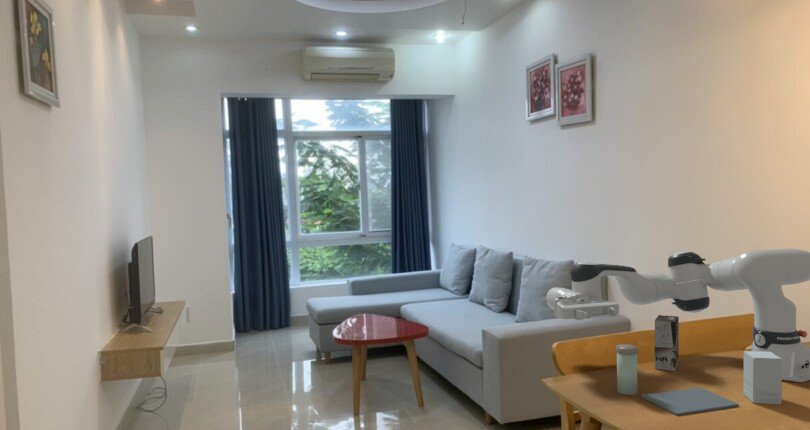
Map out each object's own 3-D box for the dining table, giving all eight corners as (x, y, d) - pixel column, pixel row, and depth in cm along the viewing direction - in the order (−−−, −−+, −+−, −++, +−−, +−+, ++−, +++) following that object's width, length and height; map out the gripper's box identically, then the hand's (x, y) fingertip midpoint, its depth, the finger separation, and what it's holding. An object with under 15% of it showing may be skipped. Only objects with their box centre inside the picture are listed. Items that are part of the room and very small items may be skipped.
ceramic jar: (629, 387, 175) (629, 343, 174) (642, 394, 169) (642, 348, 169) (611, 389, 173) (611, 345, 173) (624, 396, 168) (624, 350, 167)
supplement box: (782, 404, 159) (782, 358, 158) (752, 403, 161) (752, 357, 160) (771, 395, 166) (771, 351, 166) (742, 393, 168) (742, 350, 167)
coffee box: (675, 371, 188) (675, 321, 188) (654, 368, 192) (653, 319, 191) (679, 363, 196) (679, 316, 195) (658, 361, 200) (658, 314, 199)
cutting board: (699, 389, 172) (699, 387, 172) (738, 406, 159) (738, 403, 159) (641, 397, 167) (641, 395, 167) (676, 415, 153) (676, 413, 153)
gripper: (604, 312, 199) (630, 321, 185) (550, 317, 193) (572, 327, 180) (604, 294, 198) (630, 302, 185) (550, 298, 193) (572, 307, 180)
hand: (601, 314), depth 182 cm, fingers open, 8 cm apart
